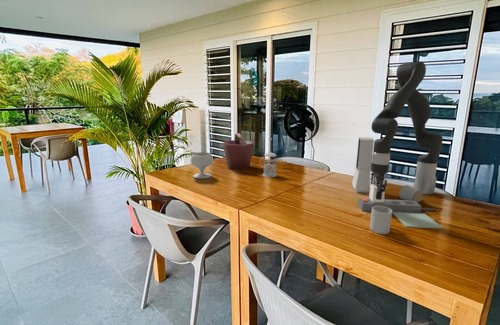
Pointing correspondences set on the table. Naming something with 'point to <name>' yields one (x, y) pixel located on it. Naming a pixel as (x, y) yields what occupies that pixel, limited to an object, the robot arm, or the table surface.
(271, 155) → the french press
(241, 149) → the bucket
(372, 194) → the block
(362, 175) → the electronic device
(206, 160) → the chalice
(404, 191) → the ceramic mug
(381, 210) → the cup
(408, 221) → the rubber mat
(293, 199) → the table surface
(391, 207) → the power strip
